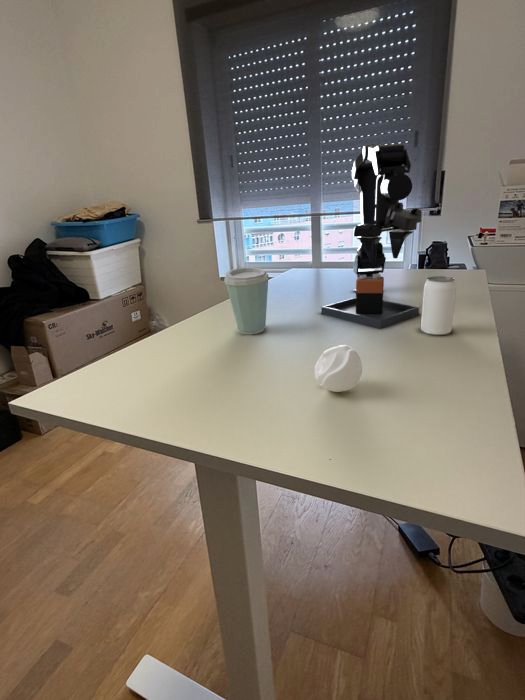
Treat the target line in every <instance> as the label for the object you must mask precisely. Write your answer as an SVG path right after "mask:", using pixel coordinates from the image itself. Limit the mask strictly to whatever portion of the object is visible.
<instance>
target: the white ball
mask: <svg viewBox="0 0 525 700" xmlns="http://www.w3.org/2000/svg"><path fill="white" fill-rule="evenodd" d="M313 369H314V378H315V380H316V381H317V382H318V384H319V385H320V387H321V388H323V389H325V390H327V391H330V392H333V393H340V392H341V393H342V392H347V391H350V390H351V389H353V388H354V387H355V386H356V385H357V384H358V383H359V381H360V379H361V377H362V375H363V363H362V359H361V356H360V355H359V353H358V352H357V350H356V349H355V348H353V347H351V346H350V345H347V344H340V345H335V346H332V347H330V348H328V349H326V350H324V351H323V352H322V354H321V355H320V357H319V358H318V359H317V361H316V363H315V365H314V367H313Z"/></svg>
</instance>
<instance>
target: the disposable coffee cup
mask: <svg viewBox="0 0 525 700" xmlns="http://www.w3.org/2000/svg"><path fill="white" fill-rule="evenodd" d="M269 279H270V276H269V274H268V273H267V272H266V270H264V268H259V267H250V266H244V267H239V268H233V269H230V270H227V272H226V273H225V277H224V281H223V283H224V284H225V286H226V289H227V294H228V296H229V300H230V304H231V308H232V312H233V315H234V320H235V323H236V326H237V330H238V331H239V333H240V334H242V335H257V334H260V333H262V332H264V331H265V327H266V322H267V308H268V307H267V306H268V291H269V290H268V289H269Z"/></svg>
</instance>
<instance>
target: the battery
mask: <svg viewBox="0 0 525 700" xmlns="http://www.w3.org/2000/svg"><path fill="white" fill-rule="evenodd" d="M381 275H382V274H381V273H379V274H373V276H374V277H366V275H360V277H358V278H357V277H356V280H355V289H356V292H355V297H356V313H357V314H382V310H383V300H384V287H385V286H384V285H385V277H384V276H381Z"/></svg>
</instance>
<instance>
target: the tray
mask: <svg viewBox="0 0 525 700" xmlns="http://www.w3.org/2000/svg"><path fill="white" fill-rule="evenodd" d="M320 307H321V308H320V309H321V314H322V315H324V316H325V315H326V316H329V317H332V318H337V319H341V320H345V321H348V322H352V323H356V324H359V325H360V324H361V325H365V326H368V327H371V328H376V329H379V330H380V329H382V328H385V327H389V326H391V325H395V324H396V323H400V322H403V321H405V320H408V319H410V318H413V317H416V316H418V315H419V314H420V307H419V306H415V305H409V304H403V303H399V302H393V301H388V300H384V299H383V310H382V314H357V313H356V296H355V297H351V298H347V299H344V300H340V301H336V302H333V303H330V304H326V305H323V306H320Z"/></svg>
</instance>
